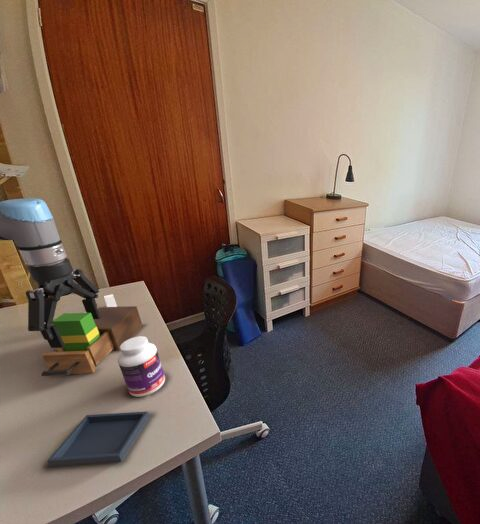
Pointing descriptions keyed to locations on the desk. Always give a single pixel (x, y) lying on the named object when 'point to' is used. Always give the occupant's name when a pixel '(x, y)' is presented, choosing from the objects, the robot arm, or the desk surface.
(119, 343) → the cabinet
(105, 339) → the drawer
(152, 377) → the pill bottle
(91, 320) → the yellow-banded green block
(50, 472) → the desk surface
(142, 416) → the tray
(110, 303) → the bracket
